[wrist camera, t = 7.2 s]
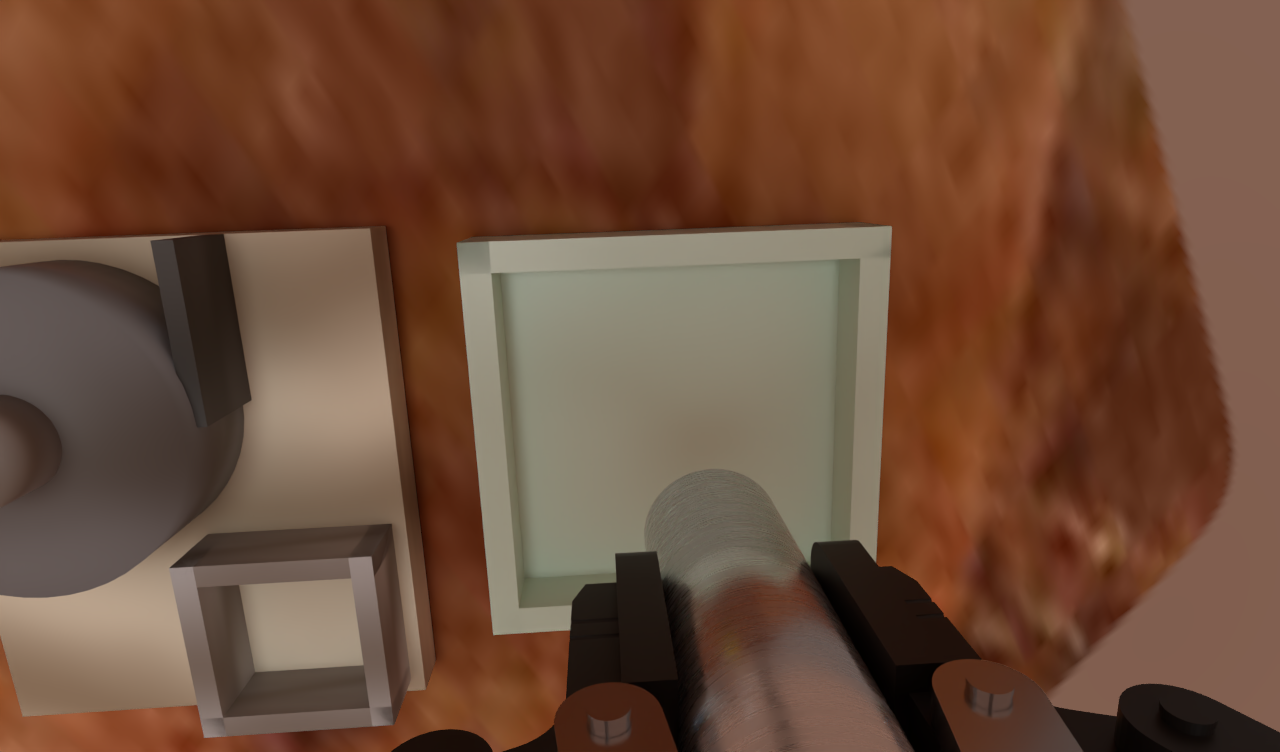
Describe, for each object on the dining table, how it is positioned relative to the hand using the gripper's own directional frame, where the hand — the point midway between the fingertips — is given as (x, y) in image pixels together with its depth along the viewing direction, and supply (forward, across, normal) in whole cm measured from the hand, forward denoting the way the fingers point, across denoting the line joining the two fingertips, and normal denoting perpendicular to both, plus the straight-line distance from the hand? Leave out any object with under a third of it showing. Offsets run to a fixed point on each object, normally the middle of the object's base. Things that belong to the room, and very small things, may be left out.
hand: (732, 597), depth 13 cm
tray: (+10, 0, 0) cm, 10 cm away
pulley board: (+10, +14, +1) cm, 17 cm away
